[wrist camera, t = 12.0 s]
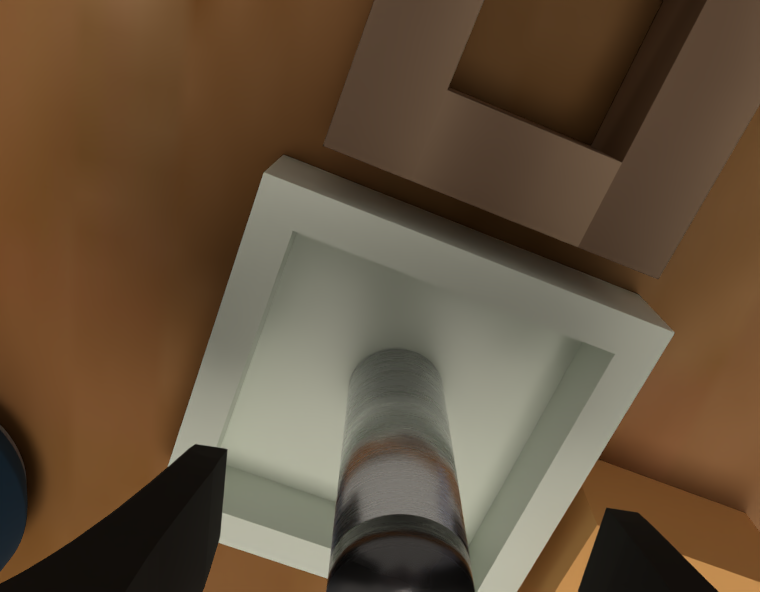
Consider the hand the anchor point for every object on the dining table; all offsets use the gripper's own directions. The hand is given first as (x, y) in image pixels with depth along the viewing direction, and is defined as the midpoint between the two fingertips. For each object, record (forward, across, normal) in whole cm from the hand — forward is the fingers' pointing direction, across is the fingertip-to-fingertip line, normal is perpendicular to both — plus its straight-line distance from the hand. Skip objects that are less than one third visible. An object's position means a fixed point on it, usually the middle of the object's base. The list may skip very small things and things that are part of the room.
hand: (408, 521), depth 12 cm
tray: (+6, 0, +1) cm, 7 cm away
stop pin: (+6, 0, 0) cm, 6 cm away
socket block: (+7, -2, -9) cm, 11 cm away
